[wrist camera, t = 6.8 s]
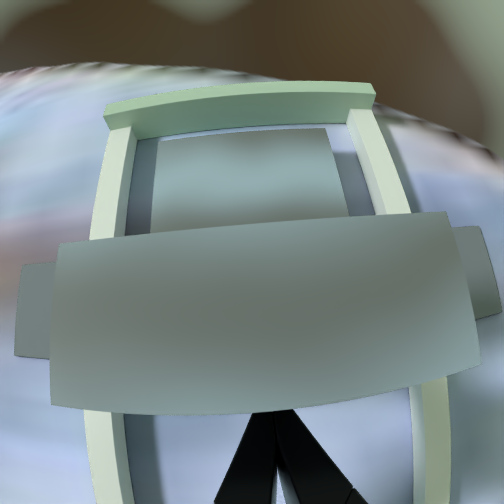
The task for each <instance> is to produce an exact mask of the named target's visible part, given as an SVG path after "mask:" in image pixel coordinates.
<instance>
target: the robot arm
mask: <svg viewBox="0 0 504 504" xmlns="http://www.w3.org/2000/svg"><path fill="white" fill-rule="evenodd" d="M277 468H278V474H279V478H280V482H281V486H282V490H283V494H284V498H285V501H286V504H368V503H367V502H366V501H365V499H364V498H363V497H362V496H361V495H360V494H359V492H358V491H357V490H356V489H355V488H353V485H352V484H351V483H350V482H349V481H348V479H347V478H346V477H345V476H344V474H343V473H342V472H341V471H340V469H339V468H338V467H337V466H336V464H335V463H334V462H333V461H332V459H331V458H330V457H329V456H328V454H327V453H326V452H325V450H324V449H323V448H322V447H321V445H320V444H319V443H318V441H317V440H316V439H315V438H314V436H313V435H312V434H311V432H310V431H309V430H308V428H307V427H306V426H305V424H304V423H303V422H302V420H301V419H300V418H299V416H298V415H297V414H296V412H295V411H294V410H293V409H288V410H279V411H269V412H257V413H252V415H251V417H250V420H249V422H248V425H247V427H246V429H245V432H244V434H243V437H242V439H241V441H240V444H239V446H238V448H237V451H236V453H235V455H234V458H233V460H232V462H231V464H230V467H229V469H228V471H227V473H226V476H225V478H224V480H223V482H222V484H221V487H220V489H219V491H218V493H217V495H216V497H215V500H214V504H276V495H277ZM352 488H353V489H352Z"/></svg>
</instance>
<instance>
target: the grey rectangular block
mask: <svg viewBox="0 0 504 504" xmlns="http://www.w3.org/2000/svg"><path fill="white" fill-rule="evenodd" d="M481 364H482V361H481V354H480V347H479V340H478V334H477V328H476V322H475V317H474V312H473V307H472V302H471V298H470V293H469V289H468V285H467V280H466V276H465V273H464V269H463V265H462V261H461V258H460V254H459V251H458V247H457V244H456V241H455V237H454V234H453V231H452V228H451V225H450V222H449V219H448V216H447V213H446V212H425V213H405V214H386V215H369V216H352V217H350V216H349V212H348V208H347V204H346V200H345V196H344V192H343V189H342V185H341V181H340V177H339V174H338V170H337V166H336V163H335V159H334V156H333V153H332V149H331V146H330V142H329V139H328V136H327V133H326V129H325V128H312V129H283V130H264V131H250V132H237V133H226V134H216V135H206V136H198V137H189V138H182V139H174V140H167V141H161V142H158V149H157V158H156V167H155V177H154V188H153V200H152V213H151V228H150V234H140V235H131V236H122V237H113V238H104V239H96V240H87V241H79V242H71V243H63V244H59V248H58V255H57V262H56V270H55V278H54V287H53V298H52V311H51V329H50V394H51V405H55V406H61V407H68V408H75V409H83V410H92V411H101V412H112V413H126V414H143V415H226V414H244V413H257V412H269V411H279V410H288V409H296V408H304V407H311V406H318V405H324V404H331V403H337V402H342V401H348V400H353V399H358V398H363V397H368V396H373V395H377V394H382V393H386V392H391V391H395V390H399V389H403V388H407V387H411V386H414V385H418V384H422V383H425V382H429V381H432V380H435V379H439V378H442V377H445V376H449V375H452V374H455V373H458V372H461V371H464V370H467V369H470V368H472V367H475V366H478V365H481Z"/></svg>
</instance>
